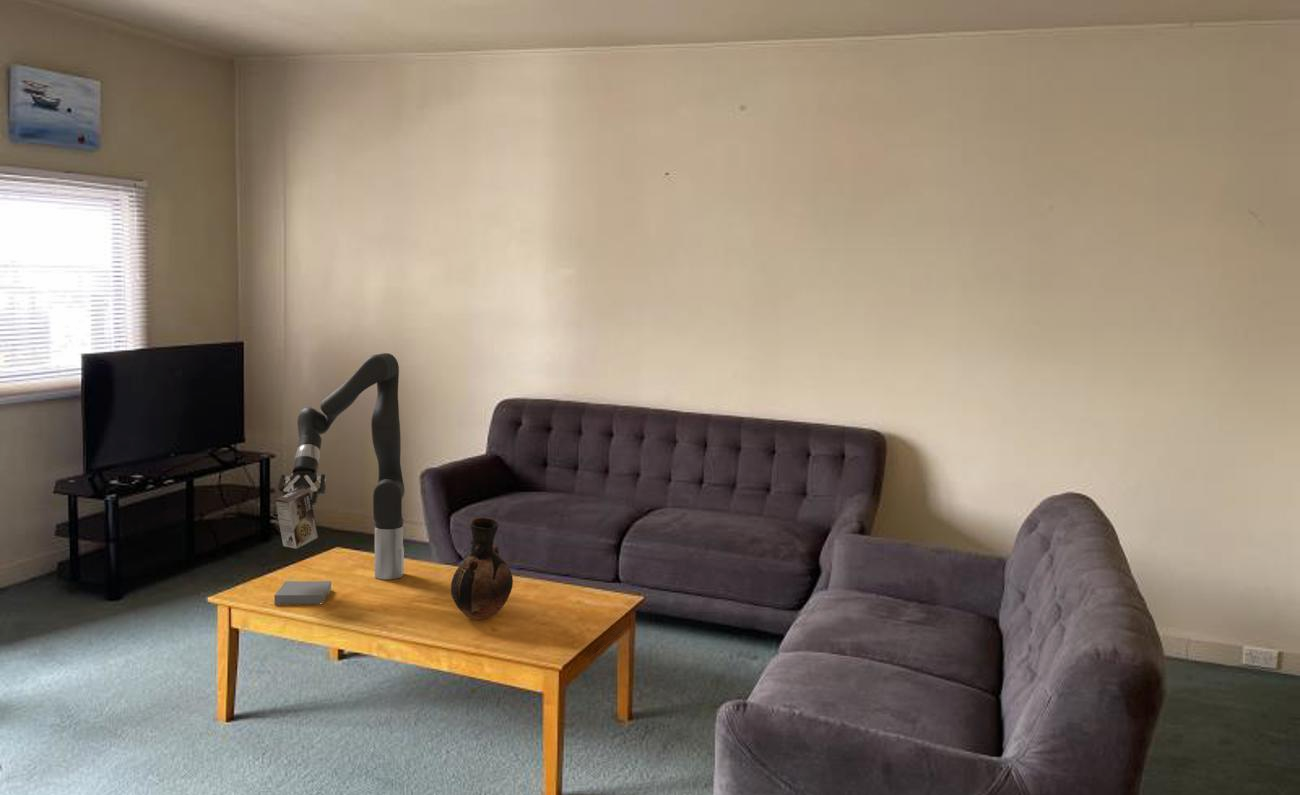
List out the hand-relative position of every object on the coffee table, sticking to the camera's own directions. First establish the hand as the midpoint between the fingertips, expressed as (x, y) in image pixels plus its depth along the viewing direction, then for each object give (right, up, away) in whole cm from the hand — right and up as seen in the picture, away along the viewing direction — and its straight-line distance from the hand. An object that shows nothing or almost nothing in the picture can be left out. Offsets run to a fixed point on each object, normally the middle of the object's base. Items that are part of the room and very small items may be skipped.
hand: (299, 503), depth 308 cm
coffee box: (0, -13, +2) cm, 13 cm away
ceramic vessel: (+61, -32, -16) cm, 71 cm away
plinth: (+3, -29, -4) cm, 29 cm away
